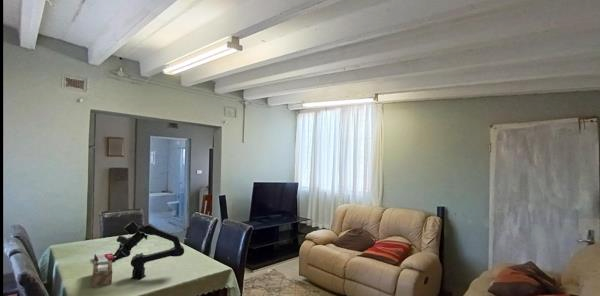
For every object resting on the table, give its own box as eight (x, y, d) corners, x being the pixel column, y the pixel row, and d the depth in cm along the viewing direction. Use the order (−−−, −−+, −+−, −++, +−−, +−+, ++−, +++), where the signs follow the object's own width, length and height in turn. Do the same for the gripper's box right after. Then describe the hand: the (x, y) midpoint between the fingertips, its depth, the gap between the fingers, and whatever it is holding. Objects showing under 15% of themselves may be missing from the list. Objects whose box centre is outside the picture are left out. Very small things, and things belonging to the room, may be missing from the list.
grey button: (107, 263, 212) (107, 258, 212) (107, 266, 207) (107, 261, 207) (97, 264, 209) (98, 259, 209) (97, 267, 205) (98, 262, 205)
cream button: (107, 269, 202) (107, 264, 202) (107, 271, 198) (107, 266, 198) (97, 270, 200) (97, 265, 200) (97, 273, 195) (97, 268, 195)
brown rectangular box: (110, 272, 215) (111, 259, 216) (111, 284, 196) (112, 270, 197) (92, 274, 210) (93, 261, 210) (91, 287, 191) (92, 273, 192)
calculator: (98, 260, 228) (94, 253, 239) (97, 266, 228) (94, 259, 239) (115, 257, 235) (111, 250, 246) (115, 263, 235) (111, 256, 247)
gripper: (125, 227, 214) (104, 245, 208) (126, 234, 197) (103, 254, 192) (137, 239, 217) (117, 257, 212) (139, 246, 201) (116, 266, 195)
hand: (113, 258), depth 202 cm, fingers open, 9 cm apart
